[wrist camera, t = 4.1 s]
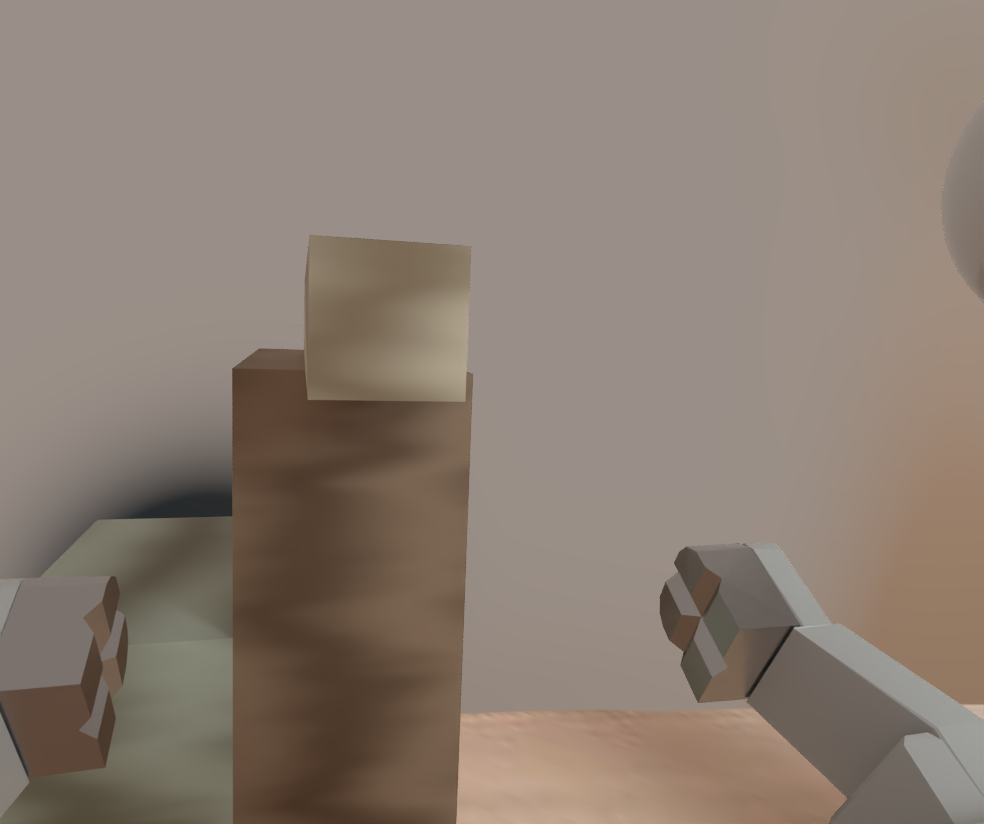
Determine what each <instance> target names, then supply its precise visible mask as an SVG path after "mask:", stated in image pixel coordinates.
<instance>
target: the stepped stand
mask: <svg viewBox="0 0 984 824" xmlns="http://www.w3.org/2000/svg"><path fill="white" fill-rule="evenodd" d="M232 371H233V372H232V376H233V377H232V378H233V379H232V380H233V382H232V383H233V384H232V385H233V386H232V391H233V517H199V518H161V519H158V518H157V519H120V520H119V519H118V520H97V521H96V522H95V523H94V524H93V525H92V526H91V527H90V528H89V529H88V530H87V531H86V532H85V533H84V534H83V535H82V536H81V537H80V538H79V539H78V540H77V541H76V542H75V543H74V544H73V545H72V546H71V547H70V548H69V549H68V550H67V551H66V552H65V553H64V554H63V555H62V556H61V557H60V558H59V559H58V560H57V561H56V562H55V563H54V564H53V565H52V566H51V567H50V568H49V569H48V570H47V571H46V572H45V573H44V574H43V575H42V576H41V577H40V578H50V577H89V576H115V577H116V579H117V583H118V587H119V591H120V596H119V601H118V605H117V610H118V611H119V612H121V613H122V614H124V615H125V618H126V623H127V631H128V653H127V666H126V671H125V676H124V682H123V686H122V687H121V688H120V689H119V690H118V692H117V693H116V694H115V695H114V696H113V697H112V698H111V700H112V704H113V708H114V712H115V716H116V720H115V725H114V730H113V734H112V739H111V744H110V748H109V753H108V758H107V762H106V767H105V768H100V769H92V770H85V771H78V772H70V773H63V774H55V775H48V776H40V777H33V778H28V779H29V784H28V785H27V786H26V787H25V788H24V790H23V791H22V792H21V793H20V795H19V796H18V797H17V798H16V799H15V801H14V802H13V803H12V804H11V805H10V807H9V808H8V809H7V810H6V811H5V813H4V814H3V815H2V816H1V817H0V824H456V816H457V789H458V762H459V736H460V709H461V706H460V705H461V681H462V654H463V627H464V602H465V601H464V600H465V574H466V548H467V521H468V495H469V468H470V441H471V415H472V413H471V412H472V388H473V374H471V373H468V372H467V373H466V401H465V402H437V401H363V400H308V397H307V385H306V373H305V361H304V350H288V349H258V350H257V351H255V352H254V353H253V354H252V355H250V356H249V357H247V358H246V359H245V360H243V361H242V362H241V363H239V364H238V365H237V366H235V367H234V368H233V369H232Z"/></svg>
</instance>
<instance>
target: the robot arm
mask: <svg viewBox="0 0 984 824" xmlns="http://www.w3.org/2000/svg"><path fill="white" fill-rule="evenodd" d="M941 205H942V206H941V209H942V225H943V231H944V236H945V241H946V243H947V247H948V249H949V252H950V255H951V258H952V260H953V262H954V264H955V266H956V268H957V270H958V271H959V273H960V274H961V276H962V278H963V279H964V280H965V282H966V283H967V285H968V286H969V287H970V288H971V290H972V291H973V292H974V293H975V294H976V295H977V296H978V297H979V298H980V300H981V301H983V302H984V100H983V101H982V102H981V103H980V105H979V106H978V107H977V109H976V110H975V111H974V113H973V114H972V116H971V118H970V119H969V121H968V122H967V124H966V126H965V127H964V129H963V131H962V132H961V134H960V136H959V139H958V141H957V143H956V145H955V147H954V149H953V152H952V155H951V158H950V160H949V164H948V166H947V169H946V173H945V178H944V184H943V191H942V201H941ZM674 564H675V566H676V568H677V570H678V573H676V574H675V575H674V576H673V577H671V578H670V579H669V580H667V581H666V582H665V585H664V587H663V590H662V593H661V595H660V615H661V619H662V624H663V627H664V629H665V632H666V634H667V636H668V639H669V640H670V641H671V642H672V643H673V644H675V645H676V646H677V647H678V648H680V649H681V650H682V651H683V652H684V653H683V657H682V661H681V667H682V669H683V671H684V674H685V676H686V678H687V680H688V682H689V684H690V687H691V689H692V691H693V693H694V695H695V697H696V699H697V701H698V703H703V702H716V701H729V700H740V699H748V700H747V703H748V704H749V705H750V706H752V707H753V708H754V709H755V710H756V711H757V712H758V713H759V714H760V715H761V716H762V717H763V718H764V719H765V720H766V721H767V722H768V723H769V724H770V725H771V726H772V727H774V728H775V729H776V730H777V731H778V732H779V733H780V734H781V735H782V736H783V737H784V738H785V739H786V740H787V741H788V742H789V743H790V744H791V745H792V746H793V747H795V748H796V749H797V750H798V751H799V752H800V753H801V754H802V755H803V756H804V757H805V758H806V759H807V760H808V761H809V762H810V763H811V764H812V765H813V766H814V767H816V768H817V769H818V770H819V771H820V772H821V773H822V774H823V775H824V776H825V777H826V778H827V779H828V780H829V781H830V782H831V783H832V784H833V785H834V786H835V787H837V788H838V789H839V790H840V791H841V792H842V793H843V794H844V795H845V796H846V797H847V798H848V799H847V800H846V801H845V803H844V804H843V805H842V806H841V807H840V808H839V809H838V810H837V811H836V812H835V814H834V815H833V816H832V817H831V820H830V823H829V824H984V720H983V719H981V718H980V717H978V716H977V715H975V714H974V713H972V712H971V711H969V710H968V709H966V708H965V707H963V706H962V705H961V704H959V703H957V702H956V701H955V700H953V699H952V698H950V697H948V696H947V695H946V694H944V693H943V692H941V691H940V690H938V689H937V688H935V687H934V686H932V685H931V684H929V683H928V682H926V681H925V680H923V679H922V678H920V677H918V676H917V675H916V674H914V673H913V672H911V671H910V670H908V669H907V668H905V667H904V666H902V665H901V664H899V663H898V662H897V661H895V660H894V659H892V658H890V657H889V656H888V655H886V654H884V653H883V652H882V651H880V650H879V649H877V648H876V647H874V646H873V645H871V644H870V643H868V642H867V641H865V640H864V639H862V638H861V637H859V636H858V635H856V634H855V633H853V632H852V631H850V630H849V629H847V628H846V627H844V626H843V625H841V624H831V622H830V621H829V619H828V618H827V616H826V615H825V613H824V612H823V610H822V609H821V607H820V606H819V604H818V603H817V601H816V600H815V598H814V597H813V596H812V594H811V593H810V591H809V590H808V588H807V587H806V585H805V584H804V582H803V581H802V579H801V578H800V577H799V575H798V573H797V572H796V570H795V569H794V568H793V566H792V565H791V563H790V562H789V560H788V559H787V557H786V556H785V554H784V553H783V551H782V550H781V549H780V548H779V547H778V546H777V545H776V544H774V543H772V542H766V543H747V544H739V543H736V544H721V545H705V546H689V547H685V548H684V549H683V550H681V551H680V552H679V554H678V556H677V558H676V560H675V562H674ZM119 596H120V591H119V587H118V583H117V579H116V577H115V576H89V577H50V578H25V579H0V817H1V816H2V815H3V814H4V813H5V811H6V810H7V809H8V808H9V807H10V805H11V804H12V803H13V802H14V801H15V799H16V798H17V797H18V796H19V795H20V793H21V792H22V791H23V790H24V788H25V787H26V786H27V785H28V784H29V779H28V778H33V777H40V776H48V775H55V774H63V773H70V772H78V771H85V770H92V769H100V768H105V767H106V762H107V758H108V753H109V748H110V744H111V739H112V734H113V730H114V725H115V720H116V716H115V712H114V708H113V704H112V700H111V698H112V697H113V696H114V695H115V694H116V693H117V692H118V690H119V689H120V688H121V687H122V686H123V682H124V676H125V671H126V666H127V653H128V631H127V623H126V618H125V615H124V614H122V613H121V612H119V611H118V610H117V605H118V601H119Z"/></svg>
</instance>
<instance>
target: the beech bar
mask: <svg viewBox="0 0 984 824" xmlns="http://www.w3.org/2000/svg"><path fill="white" fill-rule="evenodd" d="M470 261H471V246H463V245H462V246H461V245H448V244H433V243H419V242H405V241H390V240H389V241H388V240H374V239H361V238H345V237H332V236H315V235H310V237H309V245H308V255H307V265H306V274H305V296H304V298H305V299H304V361H305V373H306V385H307V397H308V400H363V401H437V402H465V401H466V373H467V346H468V317H469V290H470V263H471V262H470Z"/></svg>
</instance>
